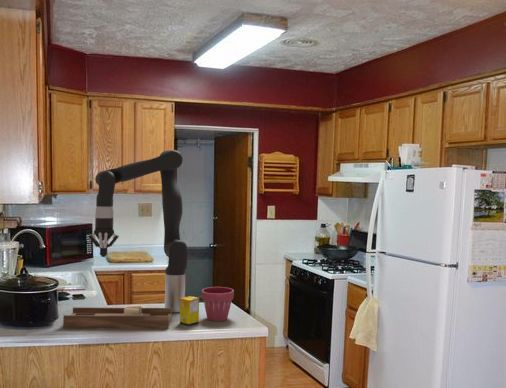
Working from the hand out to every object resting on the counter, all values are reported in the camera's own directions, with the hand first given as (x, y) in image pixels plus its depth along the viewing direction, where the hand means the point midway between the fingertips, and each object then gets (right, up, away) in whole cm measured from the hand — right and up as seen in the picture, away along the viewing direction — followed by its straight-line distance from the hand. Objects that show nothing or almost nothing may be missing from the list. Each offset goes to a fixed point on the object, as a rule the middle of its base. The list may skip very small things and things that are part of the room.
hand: (103, 256), depth 213 cm
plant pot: (+49, -28, +5) cm, 57 cm away
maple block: (+14, -24, -7) cm, 29 cm away
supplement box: (+38, -28, -4) cm, 47 cm away
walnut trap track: (+9, -27, -7) cm, 30 cm away
